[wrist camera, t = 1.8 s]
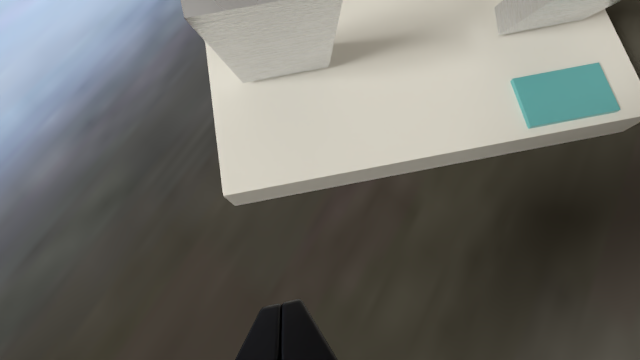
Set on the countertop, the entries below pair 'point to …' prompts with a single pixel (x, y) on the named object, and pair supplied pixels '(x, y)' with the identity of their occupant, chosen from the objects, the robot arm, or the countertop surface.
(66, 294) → the countertop surface
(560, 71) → the switch panel
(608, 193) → the countertop surface
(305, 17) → the left lever
